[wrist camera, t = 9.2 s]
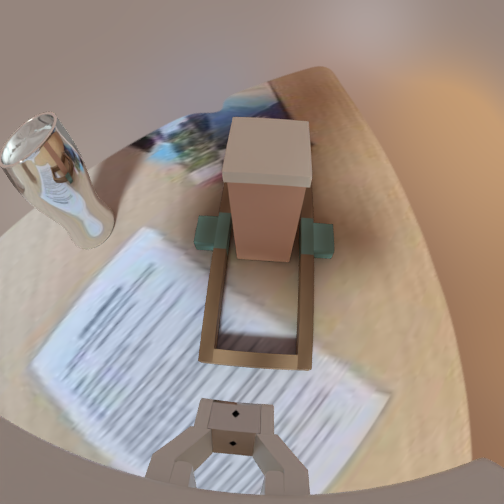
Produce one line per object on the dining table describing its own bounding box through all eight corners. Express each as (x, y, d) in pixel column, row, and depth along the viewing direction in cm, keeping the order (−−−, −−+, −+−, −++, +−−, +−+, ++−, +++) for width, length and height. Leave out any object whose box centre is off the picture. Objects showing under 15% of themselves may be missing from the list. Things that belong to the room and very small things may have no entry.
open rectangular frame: (179, 359, 25) (175, 357, 23) (216, 149, 36) (215, 140, 34) (330, 370, 24) (334, 369, 23) (323, 156, 35) (326, 147, 34)
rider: (234, 260, 29) (221, 171, 17) (240, 213, 31) (232, 117, 20) (291, 264, 29) (312, 177, 17) (292, 216, 31) (308, 121, 19)
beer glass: (105, 192, 33) (52, 100, 20) (127, 228, 31) (65, 129, 18) (62, 225, 31) (-5, 145, 18) (80, 265, 29) (-3, 184, 16)
